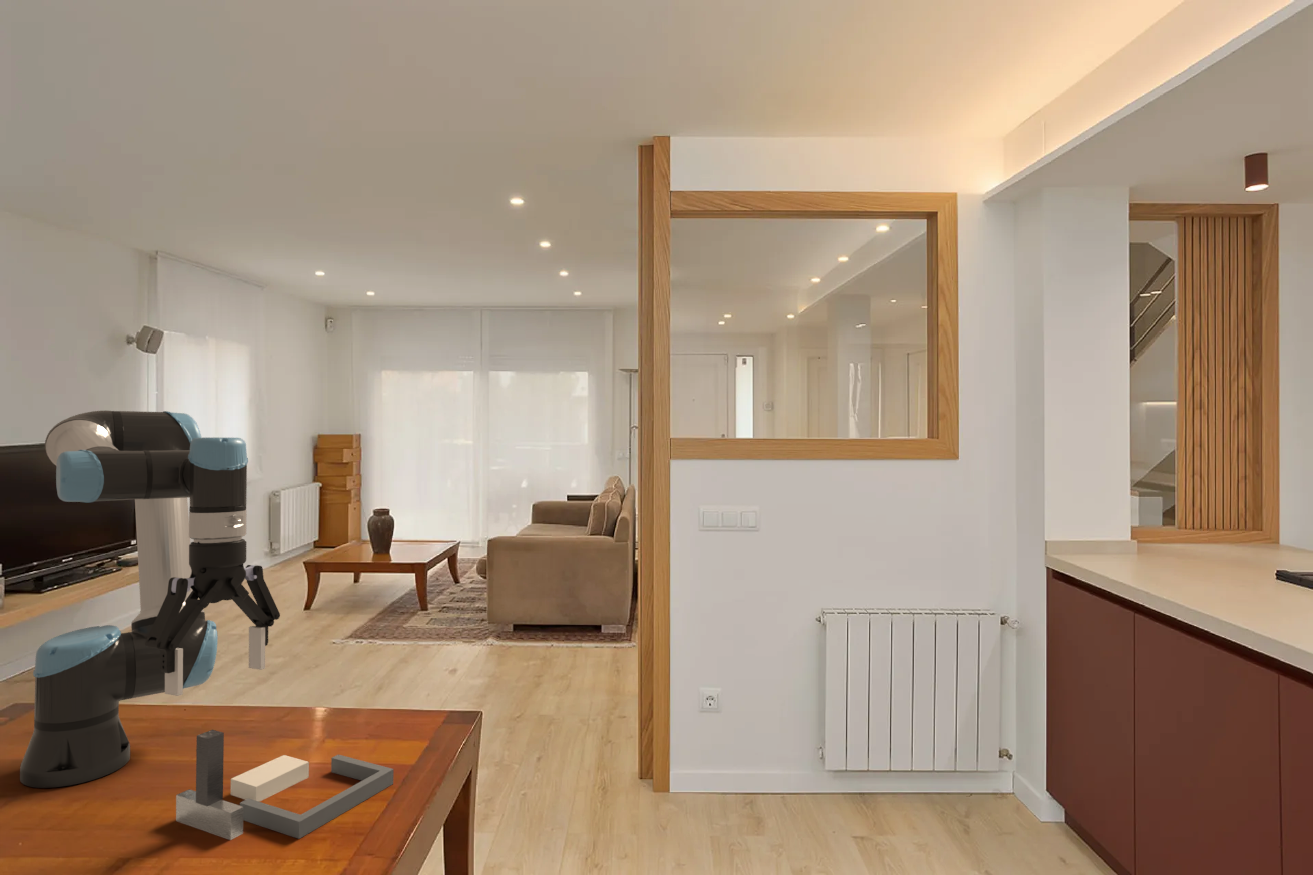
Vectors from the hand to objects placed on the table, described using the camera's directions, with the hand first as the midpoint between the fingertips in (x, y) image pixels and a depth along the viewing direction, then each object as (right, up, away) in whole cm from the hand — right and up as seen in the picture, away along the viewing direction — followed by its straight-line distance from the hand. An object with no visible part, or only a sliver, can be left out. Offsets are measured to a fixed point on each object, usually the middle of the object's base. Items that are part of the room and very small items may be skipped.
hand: (217, 680), depth 114 cm
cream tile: (+2, -22, +12) cm, 25 cm away
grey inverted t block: (-1, -22, -1) cm, 22 cm away
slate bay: (+12, -22, +7) cm, 26 cm away
